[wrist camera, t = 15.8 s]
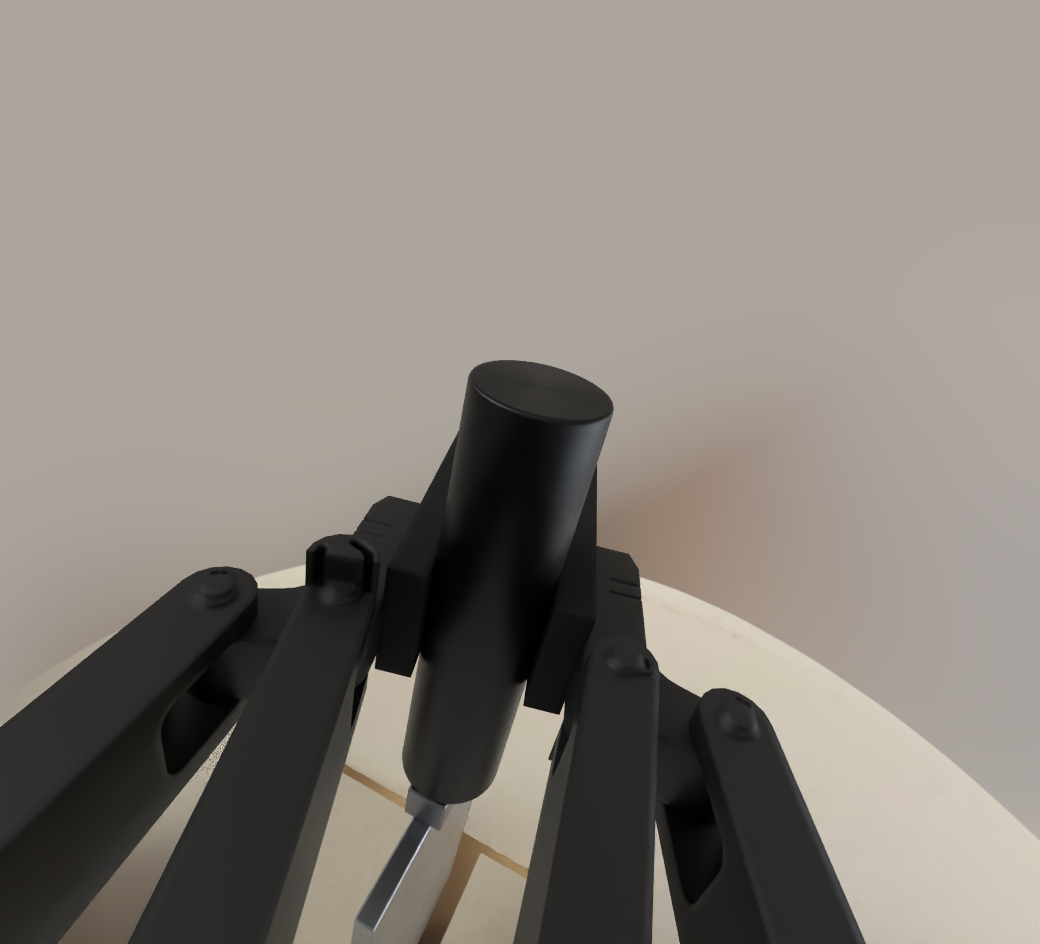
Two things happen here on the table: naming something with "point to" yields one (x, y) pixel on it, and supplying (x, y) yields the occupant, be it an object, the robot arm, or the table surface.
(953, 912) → the table surface
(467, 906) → the cake slice
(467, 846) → the cake board
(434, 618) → the knife
